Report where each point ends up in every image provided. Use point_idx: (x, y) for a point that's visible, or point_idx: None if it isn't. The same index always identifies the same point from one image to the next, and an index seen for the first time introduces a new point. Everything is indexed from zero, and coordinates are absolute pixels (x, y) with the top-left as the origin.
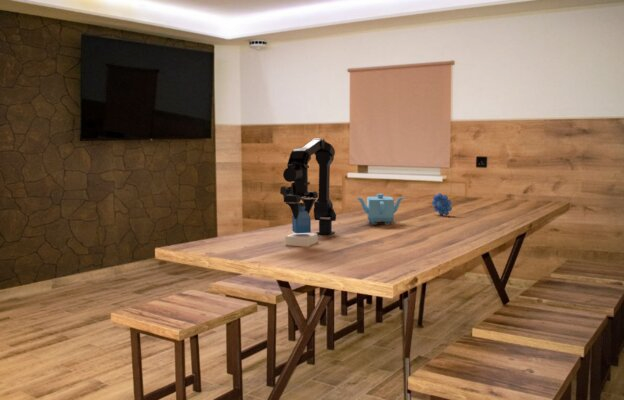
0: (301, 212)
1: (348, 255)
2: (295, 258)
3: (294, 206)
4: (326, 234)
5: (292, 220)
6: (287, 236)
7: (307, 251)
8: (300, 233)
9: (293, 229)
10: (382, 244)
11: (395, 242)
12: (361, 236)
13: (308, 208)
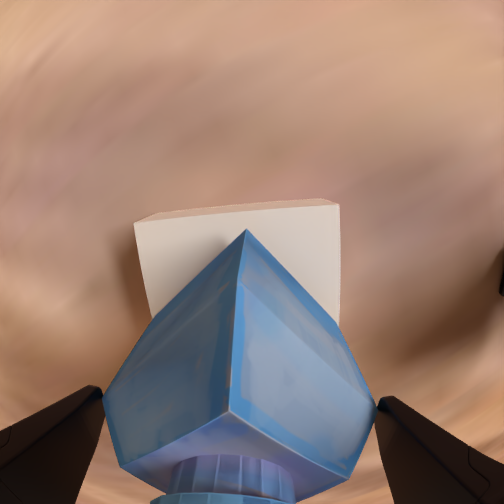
0: (166, 488)
1: (140, 484)
2: (10, 374)
3: (2, 499)
4: (501, 284)
5: (232, 264)
6: (137, 240)
7: (94, 385)
8: (297, 273)
9: (213, 262)
10: (341, 500)
11: (377, 500)
12: (472, 407)
13: (406, 493)
